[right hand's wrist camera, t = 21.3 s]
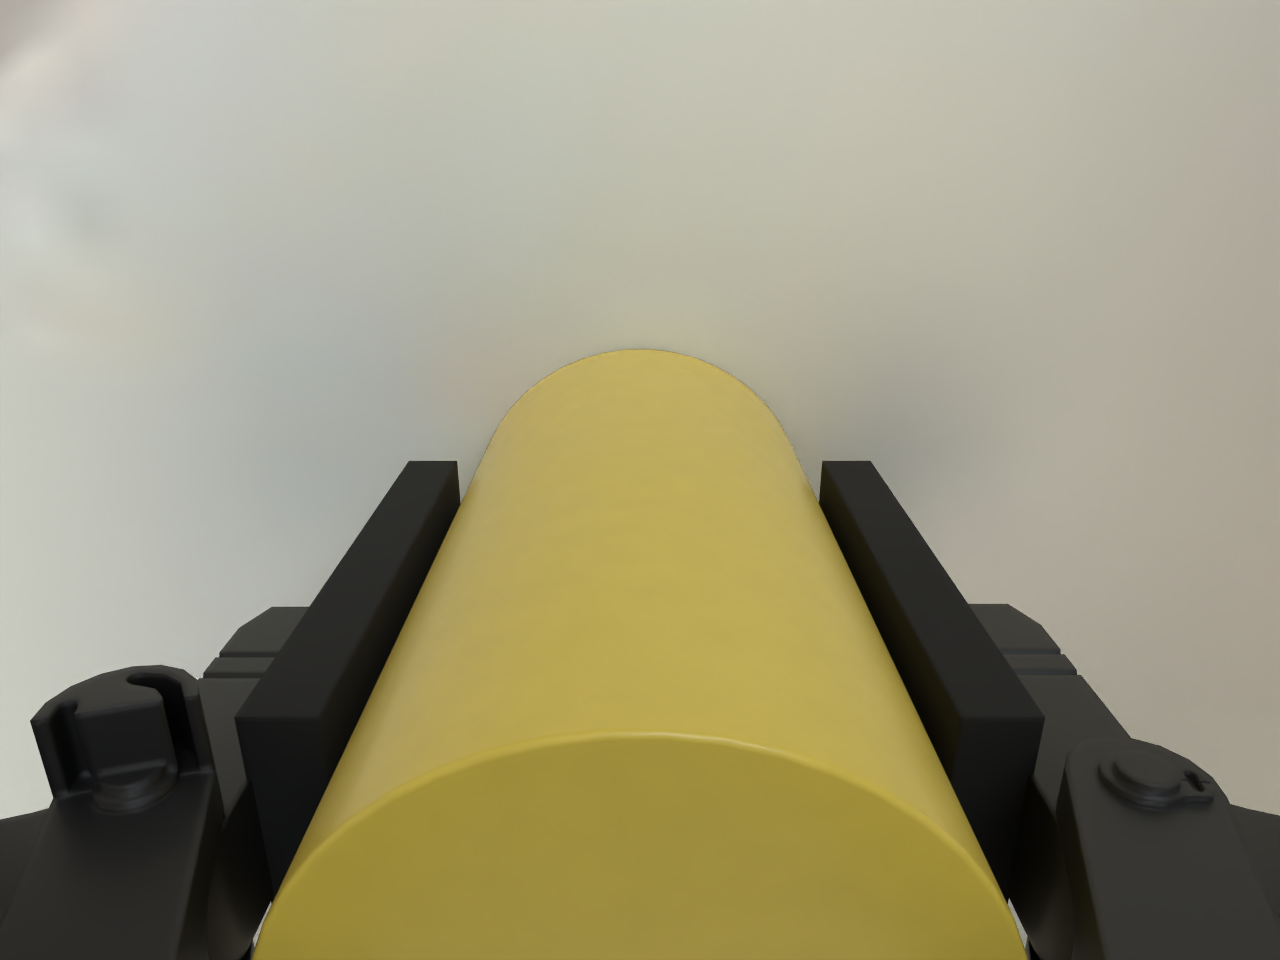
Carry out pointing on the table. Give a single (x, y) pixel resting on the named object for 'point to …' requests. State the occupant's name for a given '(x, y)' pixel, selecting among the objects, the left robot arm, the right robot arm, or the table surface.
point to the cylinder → (639, 717)
